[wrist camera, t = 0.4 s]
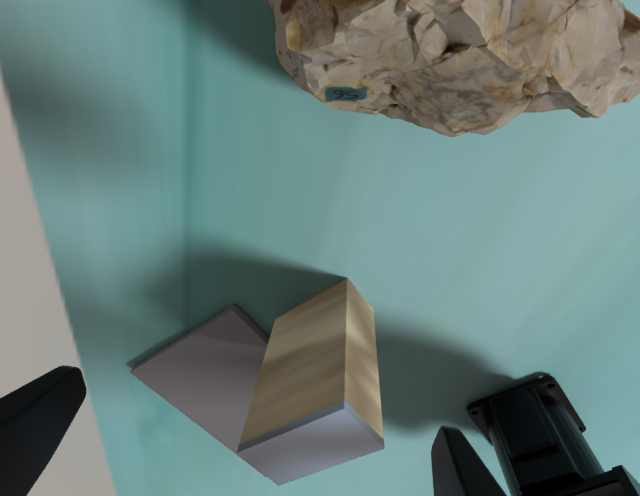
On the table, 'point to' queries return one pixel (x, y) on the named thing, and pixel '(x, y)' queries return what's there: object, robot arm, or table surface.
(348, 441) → the wooden block
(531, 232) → the table surface
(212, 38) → the table surface
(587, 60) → the rock
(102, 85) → the table surface
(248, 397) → the mat
